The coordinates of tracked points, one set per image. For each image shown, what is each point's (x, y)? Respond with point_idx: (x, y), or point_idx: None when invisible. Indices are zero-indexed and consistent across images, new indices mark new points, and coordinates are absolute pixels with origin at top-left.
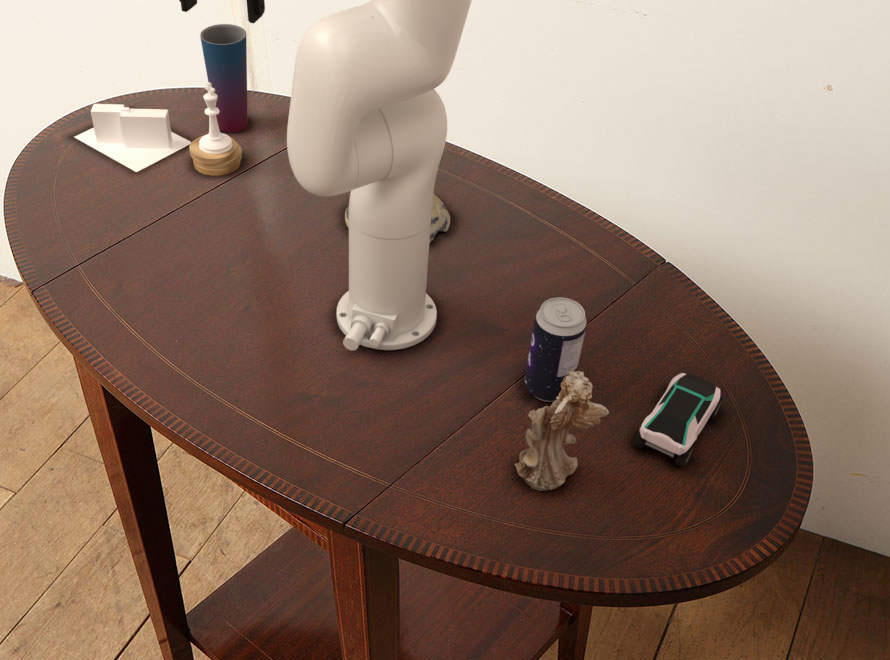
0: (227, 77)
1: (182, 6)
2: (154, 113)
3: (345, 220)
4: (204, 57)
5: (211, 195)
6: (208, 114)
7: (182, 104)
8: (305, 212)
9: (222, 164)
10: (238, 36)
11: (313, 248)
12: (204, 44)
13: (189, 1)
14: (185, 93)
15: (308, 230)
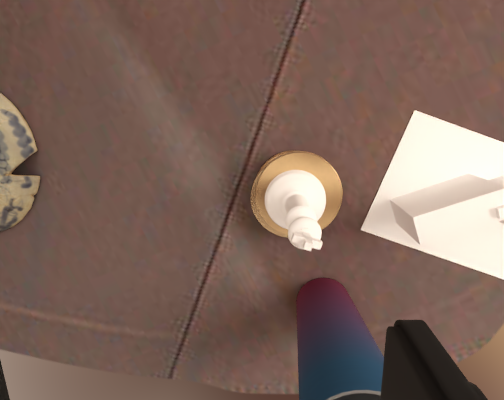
0: (322, 339)
1: (425, 335)
2: (440, 223)
3: (20, 114)
4: None
5: (257, 97)
6: (302, 206)
7: None
8: (91, 114)
9: (266, 165)
10: None
11: (28, 22)
12: None
13: (401, 392)
14: None
15: (61, 67)
